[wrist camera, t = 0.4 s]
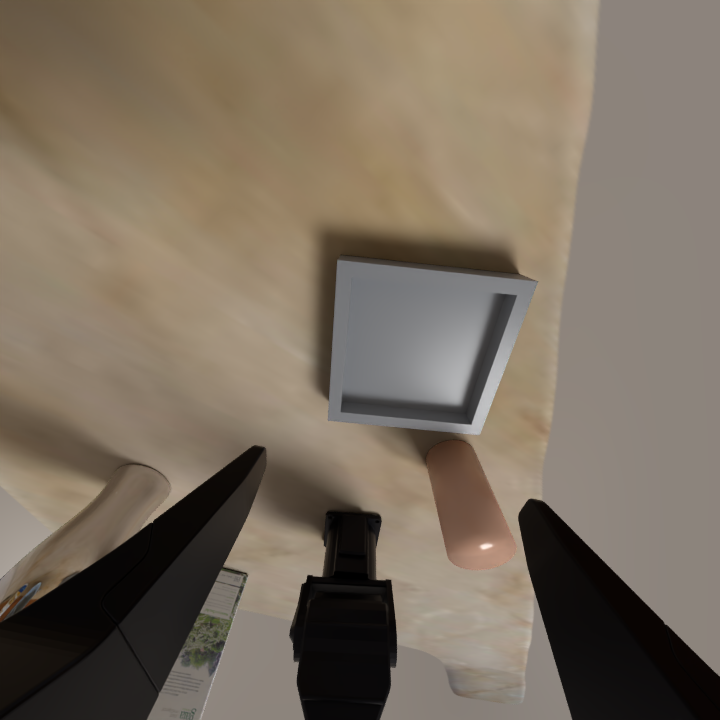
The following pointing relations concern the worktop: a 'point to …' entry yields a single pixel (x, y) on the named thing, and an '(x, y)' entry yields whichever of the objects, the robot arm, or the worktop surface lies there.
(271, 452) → the worktop surface
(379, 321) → the slate bin
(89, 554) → the clear drinking glass
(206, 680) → the syrup box
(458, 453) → the salmon pink cylinder
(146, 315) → the worktop surface
